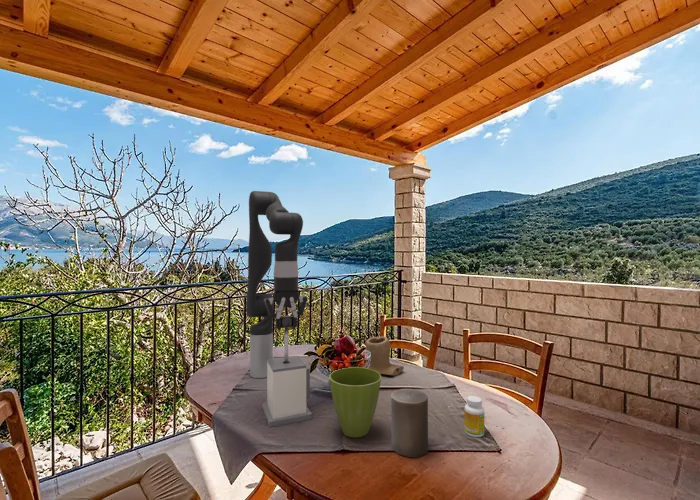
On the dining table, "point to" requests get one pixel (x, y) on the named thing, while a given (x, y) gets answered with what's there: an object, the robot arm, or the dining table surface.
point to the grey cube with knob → (287, 391)
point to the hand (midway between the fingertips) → (286, 329)
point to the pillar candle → (409, 422)
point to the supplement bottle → (474, 417)
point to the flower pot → (355, 398)
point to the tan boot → (381, 356)
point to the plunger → (286, 333)
